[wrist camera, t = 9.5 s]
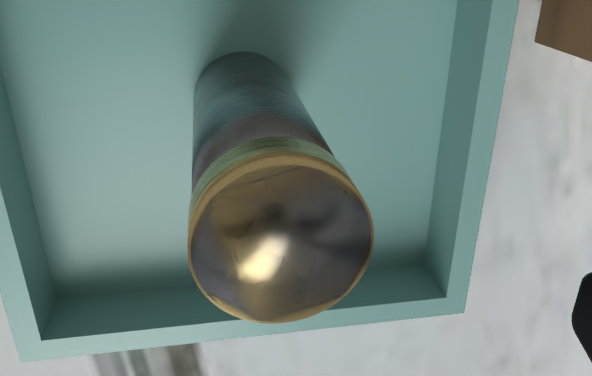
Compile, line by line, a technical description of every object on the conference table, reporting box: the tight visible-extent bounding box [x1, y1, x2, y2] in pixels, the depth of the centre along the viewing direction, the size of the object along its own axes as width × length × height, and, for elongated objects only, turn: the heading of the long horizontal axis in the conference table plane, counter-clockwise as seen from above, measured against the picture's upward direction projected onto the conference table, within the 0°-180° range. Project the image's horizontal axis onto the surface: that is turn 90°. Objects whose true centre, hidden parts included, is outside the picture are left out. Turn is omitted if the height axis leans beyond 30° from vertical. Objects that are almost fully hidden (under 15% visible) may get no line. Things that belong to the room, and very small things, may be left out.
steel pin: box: [187, 51, 374, 324], centre depth 13 cm, size 3×3×9 cm
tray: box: [0, 0, 519, 362], centre depth 17 cm, size 16×16×3 cm
